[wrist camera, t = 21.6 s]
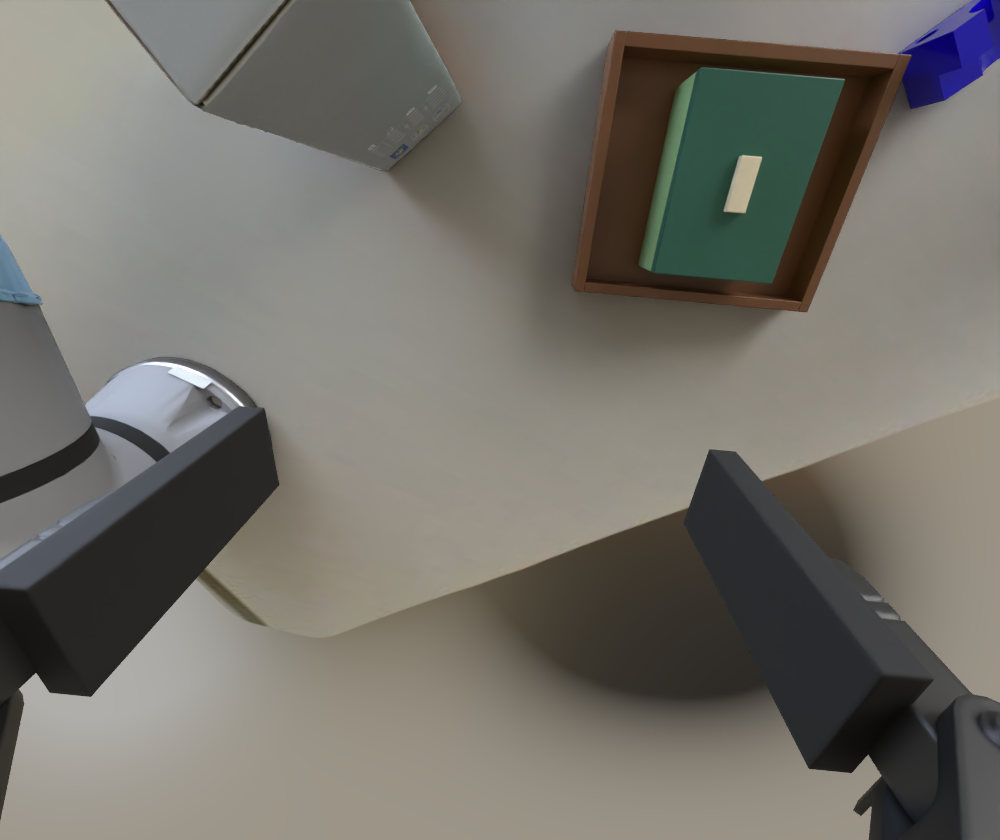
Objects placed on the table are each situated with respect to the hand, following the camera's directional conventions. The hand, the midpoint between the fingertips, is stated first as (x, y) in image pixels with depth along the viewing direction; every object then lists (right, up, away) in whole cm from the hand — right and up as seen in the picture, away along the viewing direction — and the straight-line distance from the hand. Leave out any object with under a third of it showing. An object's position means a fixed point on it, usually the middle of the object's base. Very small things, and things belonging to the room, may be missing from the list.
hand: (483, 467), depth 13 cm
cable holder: (+30, +25, +13) cm, 41 cm away
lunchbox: (+11, +17, +15) cm, 25 cm away
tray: (+16, +18, +18) cm, 30 cm away
